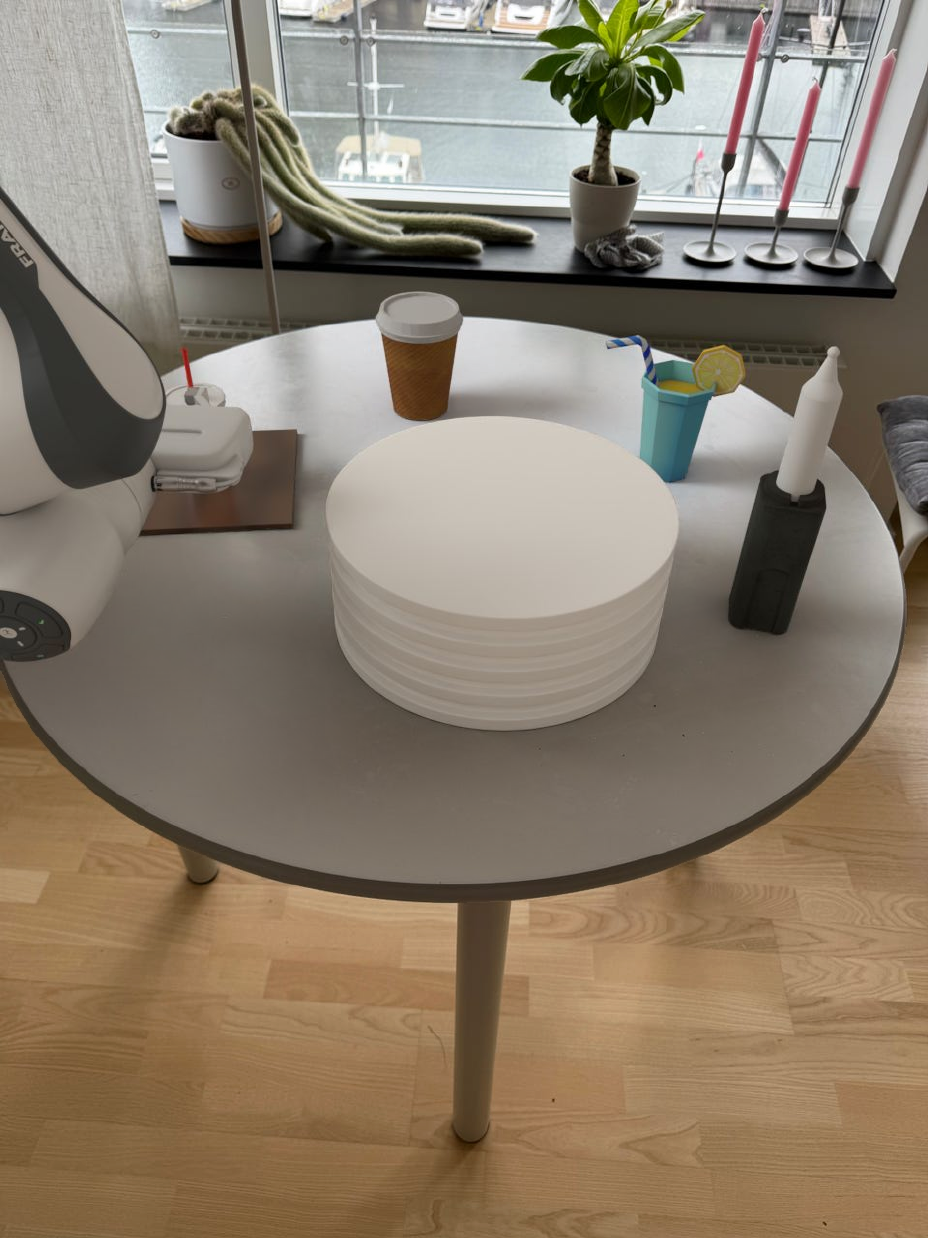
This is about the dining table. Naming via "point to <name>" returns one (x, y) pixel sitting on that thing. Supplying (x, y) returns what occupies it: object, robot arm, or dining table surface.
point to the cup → (679, 402)
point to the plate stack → (499, 569)
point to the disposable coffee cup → (419, 351)
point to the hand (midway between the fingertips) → (142, 392)
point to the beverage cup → (177, 393)
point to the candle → (787, 513)
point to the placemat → (237, 494)
